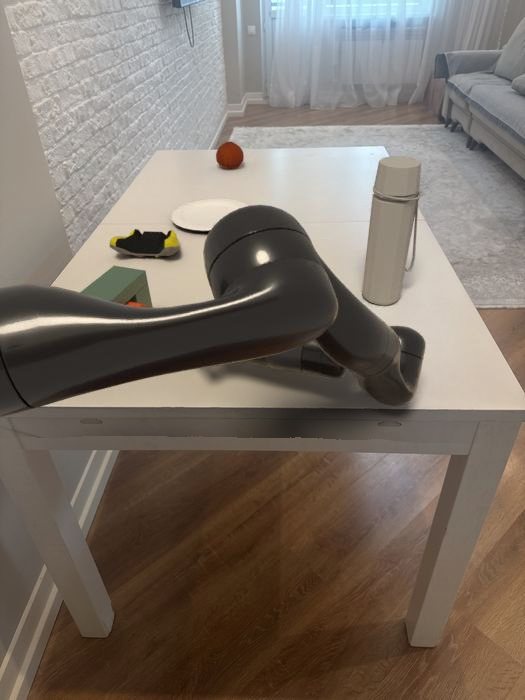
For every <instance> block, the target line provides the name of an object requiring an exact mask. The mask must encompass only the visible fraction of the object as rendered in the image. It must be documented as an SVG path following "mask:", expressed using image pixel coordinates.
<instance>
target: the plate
mask: <svg viewBox="0 0 525 700" xmlns="http://www.w3.org/2000/svg"><path fill="white" fill-rule="evenodd" d="M246 206H249V205H248V204H247V203H245V202H242V201H239V200H235V199H230V198H207V199H199V200H196V201H195V200H193V201H191V202H188V203H185V204H183V205H181V206H178V207H177V208H176V209H174V211H173V212H172V213H171V215H170V219H171V222H172V223H173V224H174V225H175V226H177V227H179V228H181V229H184V230H187V231H191V232H210V230H211V229H212V228H213V226H214V225H215V224H216V223H217V222H218V221H219V220H220V219H221V218H223V217H224V216H226V215H227V214H229V213H230V212H233V211H235V210H237V209H239V208H243V207H246Z"/></svg>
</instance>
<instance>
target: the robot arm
mask: <svg viewBox="0 0 525 700" xmlns="http://www.w3.org/2000/svg"><path fill="white" fill-rule="evenodd" d="M305 229H306V228H304V227H303V226H302V225H301V223H300V222H299V221H298V220H297V219H296V217H294V216H293V215H292V214H291V213H289V212H288V211H286V210H284V209H282V208H279V207H276V206H273V205H269V204H268V205H266V204H252V205H248V206H246V207H243V208H239V209H237V210H235V211H233V212H230V213H229V214H227V215H226V216H224V217H223V218H221V219H220V220H219V221H218V222H217V223H216V224H215V225H214V226H213V228H212V229H211V230H210V231H208V232H207V236H206V238H205V240H204V245H203V250H202V251H203V264H204V270H205V274H206V278H207V282H208V284H209V285H208V286H209V287H210V290H211V294H212V296H213V299H211V300H210V299H209V300H205V301H201V302H193V303H187V304H180V305H173V306H168V307H167V306H166V307H163V306H162V307H153V308H147V307H137V306H129V305H125V304H121V303H116V302H112V301H109V300H105V299H101V298H98V297H94V296H90V295H87V294H83V293H80V292H79V291H76V290H70V289H68V288H63V287H58V286H53V285H47V284H39V283H25V284H23V283H22V284H15V285H8V286H4V287H3V286H2V287H0V418H3V417H7V416H11V415H14V414H19V413H22V412H26V411H30V410H34V409H37V408H41V407H44V406H47V405H51V404H55V403H57V402H60V401H64V400H68V399H71V398H75V397H78V396H82V395H85V394H90V393H93V392H98V391H100V390H105V389H108V388H112V387H117V386H120V385H124V384H129V383H133V382H137V381H141V380H145V379H151V378H155V377H160V376H165V375H169V374H176V373H181V372H186V371H187V372H188V371H193V370H199V369H204V368H205V369H206V368H211V367H217V366H221V365H227V364H233V363H239V362H243V363H246V364H251V365H255V366H261V367H265V368H268V369H269V368H270V369H274V370H278V371H284V372H292V373H304V374H307V375H313V376H316V377H322V378H326V379H330V380H331V379H332V380H339V379H342V378H343V377H344V376H345V375H346V373H347V371H349V372H350V373H351V374H352V375H353V377H354V379H355V381H356V382H357V384H358V386H359V387H360V389H361V390H362V391H363V392H364V393H365V395H367V396H368V397H370V398H371V399H372V400H374V401H375V402H377V403H379V404H383V405H386V406H391V407H397V406H398V407H399V406H404V405H406V404H408V403H409V402H411V401H412V400H413V399H414V398H415V396H416V394H417V392H418V388H419V384H420V379H421V373H422V367H423V362H424V358H425V353H426V347H427V346H426V344H427V343H426V340H425V338H424V337H423V335H422V334H421V333H420V332H419V331H417V330H416V329H414V328H411V327H409V326H406V325H389V324H388V323H387V322H385V321H384V320H383V319H382V318H381V317H380V316H378V314H376V313H375V312H374V311H372V310H371V309H370V308H368V307H367V306H366V305H365V304H364V303H363V302H362V301H361V299H359V298H358V297H357V296H356V295H355V294H353V292H352V291H351V290H350V289H349V288H348V287H347V286H346V285H345V284H344V283H343V282H342V281H341V279H339V277H337V276H336V274H335V273H334V272H333V271H332V270H331V268H330V267H329V266H328V265H327V264H326V262H325V261H324V259H323V258H322V257H321V255H320V254H319V253H318V252H317V250H316V248H315V246H314V244H313V241H312V240H311V238H310V235H309V234H308V232H307V231H306V230H305Z"/></svg>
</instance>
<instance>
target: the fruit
mask: <svg viewBox="0 0 525 700" xmlns="http://www.w3.org/2000/svg"><path fill="white" fill-rule="evenodd" d="M216 150H217V151H216V153H215V160H216V162H217V163H218V165H219V166H221V167H222V168H224V169H228V170H229V169H230V170H231V169H236V168H238V167H240V166H241V165H242V164H243V162H244V158H245V156H244V151H243V149H242V147H241V146H240V145H239V144H237V143H235V142H234V141H225V142H223V143H222V144H220V145H219V147H218V148H217V149H216Z"/></svg>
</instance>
